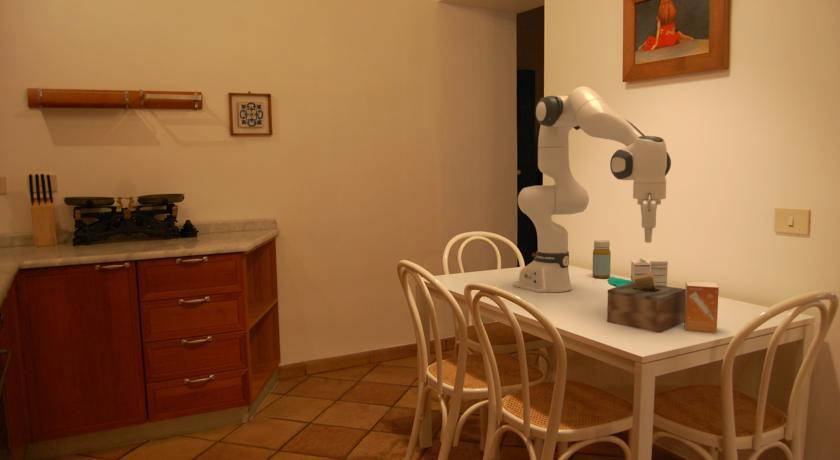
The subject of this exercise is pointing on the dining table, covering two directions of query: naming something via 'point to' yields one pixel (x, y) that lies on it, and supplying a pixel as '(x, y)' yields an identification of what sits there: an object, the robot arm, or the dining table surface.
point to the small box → (701, 306)
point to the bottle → (601, 259)
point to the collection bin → (646, 307)
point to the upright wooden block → (645, 282)
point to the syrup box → (639, 268)
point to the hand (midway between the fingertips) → (647, 240)
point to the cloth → (618, 281)
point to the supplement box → (658, 270)
